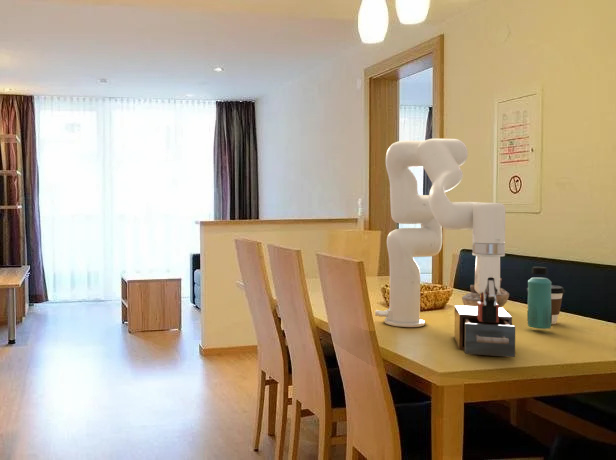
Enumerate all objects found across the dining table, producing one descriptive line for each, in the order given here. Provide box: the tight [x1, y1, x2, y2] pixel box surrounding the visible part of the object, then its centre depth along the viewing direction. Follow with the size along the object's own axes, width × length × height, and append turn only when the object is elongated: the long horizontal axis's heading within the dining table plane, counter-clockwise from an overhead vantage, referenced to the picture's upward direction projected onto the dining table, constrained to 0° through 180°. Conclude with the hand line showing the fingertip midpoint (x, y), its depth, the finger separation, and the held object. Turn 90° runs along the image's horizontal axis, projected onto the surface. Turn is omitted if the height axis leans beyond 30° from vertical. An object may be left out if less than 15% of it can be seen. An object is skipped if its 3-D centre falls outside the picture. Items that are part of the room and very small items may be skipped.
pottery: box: [461, 277, 510, 308], centre depth 207 cm, size 11×25×12 cm, turn 135°
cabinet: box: [453, 305, 513, 351], centre depth 161 cm, size 15×13×10 cm
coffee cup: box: [526, 284, 566, 325], centre depth 191 cm, size 11×11×12 cm
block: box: [477, 302, 499, 322], centre depth 150 cm, size 4×4×4 cm
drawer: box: [463, 317, 516, 358], centre depth 150 cm, size 18×11×8 cm, turn 161°
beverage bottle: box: [526, 266, 553, 330], centre depth 177 cm, size 6×7×20 cm
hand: (487, 319), depth 150 cm, fingers closed on block, 4 cm apart
